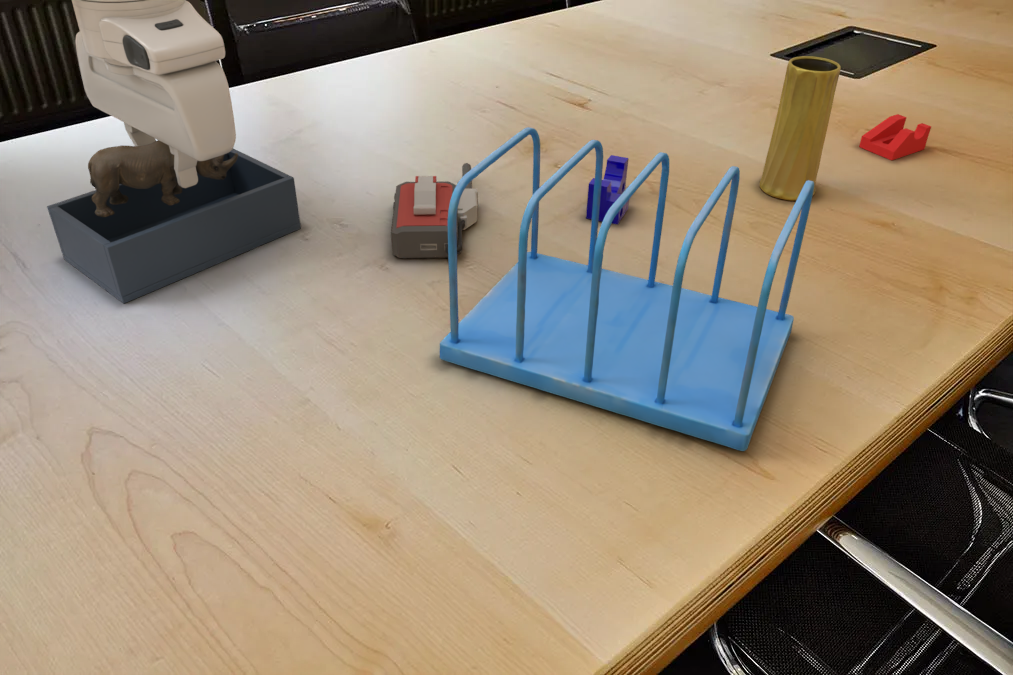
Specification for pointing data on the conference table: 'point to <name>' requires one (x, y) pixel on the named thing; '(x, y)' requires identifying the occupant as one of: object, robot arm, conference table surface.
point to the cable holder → (610, 188)
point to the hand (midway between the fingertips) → (170, 175)
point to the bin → (175, 227)
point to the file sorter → (627, 319)
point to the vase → (800, 126)
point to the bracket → (895, 138)
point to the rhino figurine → (142, 172)
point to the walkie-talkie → (429, 216)
